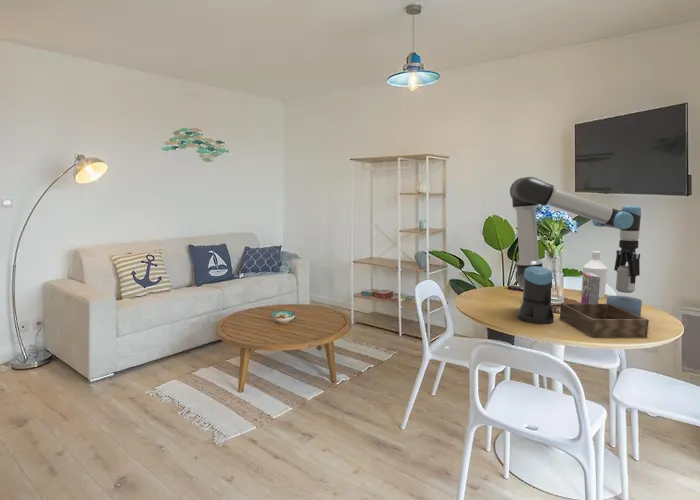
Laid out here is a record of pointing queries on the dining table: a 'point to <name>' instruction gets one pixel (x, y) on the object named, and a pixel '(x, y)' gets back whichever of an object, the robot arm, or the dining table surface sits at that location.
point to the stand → (626, 303)
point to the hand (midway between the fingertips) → (625, 288)
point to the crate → (604, 320)
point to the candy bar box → (590, 288)
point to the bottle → (597, 271)
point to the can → (623, 279)
